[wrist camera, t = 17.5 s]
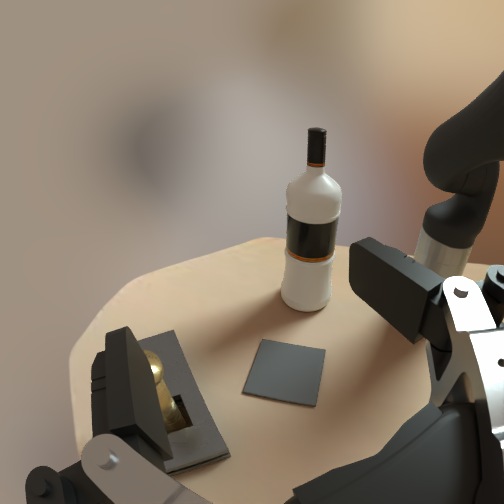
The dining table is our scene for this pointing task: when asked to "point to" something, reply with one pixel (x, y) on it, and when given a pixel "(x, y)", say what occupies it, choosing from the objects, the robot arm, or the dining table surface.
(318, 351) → the rubber mat
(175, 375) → the slotted grey base plate
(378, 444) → the dining table surface
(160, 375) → the brass pin
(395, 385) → the dining table surface
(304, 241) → the vodka
